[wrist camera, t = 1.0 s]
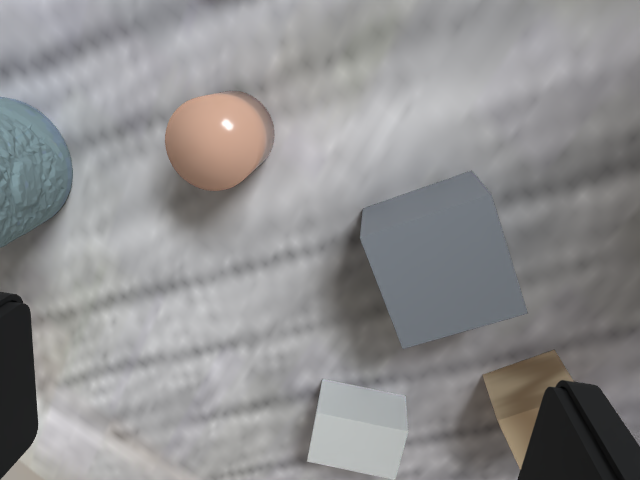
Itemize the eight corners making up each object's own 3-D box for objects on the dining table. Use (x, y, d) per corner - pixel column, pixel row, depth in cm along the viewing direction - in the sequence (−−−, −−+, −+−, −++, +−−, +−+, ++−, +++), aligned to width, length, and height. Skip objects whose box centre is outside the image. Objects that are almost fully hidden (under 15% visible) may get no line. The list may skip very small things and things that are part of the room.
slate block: (471, 170, 32) (491, 193, 27) (503, 271, 34) (527, 313, 28) (362, 208, 34) (359, 238, 28) (398, 303, 36) (402, 349, 30)
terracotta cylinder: (263, 83, 32) (244, 87, 27) (282, 164, 33) (266, 182, 29) (185, 99, 33) (153, 106, 28) (207, 178, 34) (180, 198, 29)
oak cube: (554, 349, 35) (580, 393, 31) (578, 407, 37) (607, 459, 32) (482, 374, 37) (497, 420, 32) (508, 430, 38) (526, 483, 33)
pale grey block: (405, 394, 38) (408, 431, 34) (393, 439, 39) (395, 480, 35) (322, 377, 38) (316, 412, 34) (313, 423, 39) (307, 461, 36)
